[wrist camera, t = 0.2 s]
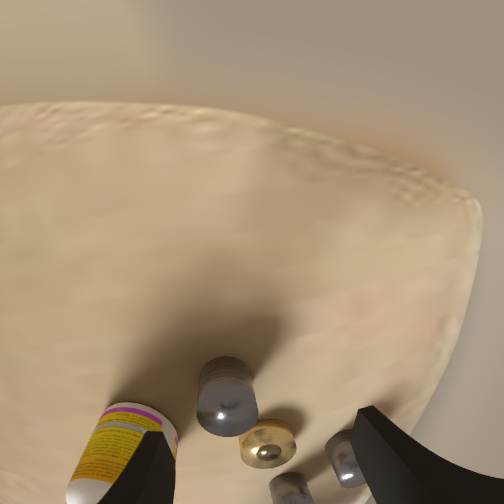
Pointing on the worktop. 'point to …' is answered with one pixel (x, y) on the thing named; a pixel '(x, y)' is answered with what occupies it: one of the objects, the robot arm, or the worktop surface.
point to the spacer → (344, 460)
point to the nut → (267, 444)
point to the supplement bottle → (114, 449)
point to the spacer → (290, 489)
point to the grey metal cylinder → (226, 398)
